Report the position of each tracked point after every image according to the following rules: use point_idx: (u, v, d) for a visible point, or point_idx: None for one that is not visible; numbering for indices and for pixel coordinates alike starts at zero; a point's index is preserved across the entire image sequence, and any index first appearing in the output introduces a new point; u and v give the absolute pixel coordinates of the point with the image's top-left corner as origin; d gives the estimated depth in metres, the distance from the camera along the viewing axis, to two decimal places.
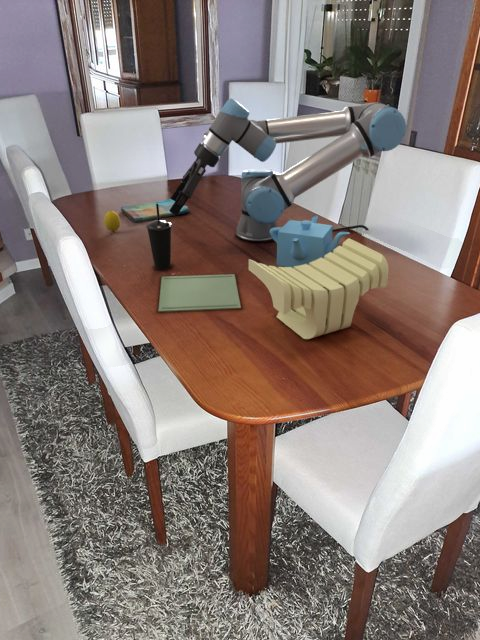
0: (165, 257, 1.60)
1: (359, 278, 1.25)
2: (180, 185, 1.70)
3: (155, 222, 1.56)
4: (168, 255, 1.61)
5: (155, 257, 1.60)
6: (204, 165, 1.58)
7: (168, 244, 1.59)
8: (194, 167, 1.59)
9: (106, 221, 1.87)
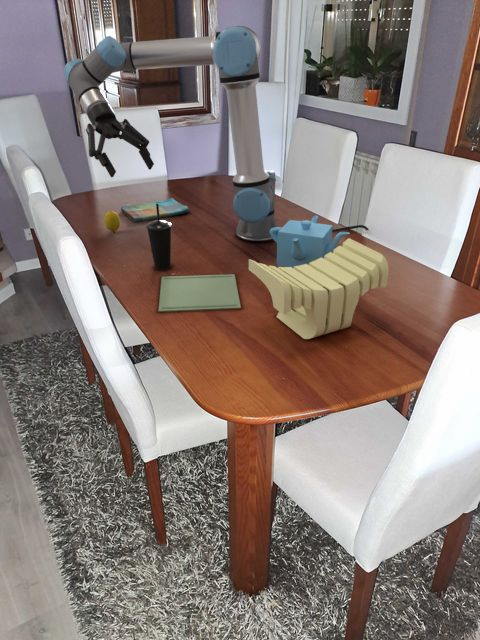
0: (165, 257, 1.60)
1: (359, 278, 1.25)
2: (140, 153, 1.61)
3: (155, 222, 1.56)
4: (168, 255, 1.61)
5: (155, 257, 1.60)
6: (95, 122, 1.54)
7: (168, 244, 1.59)
8: None
9: (106, 221, 1.87)
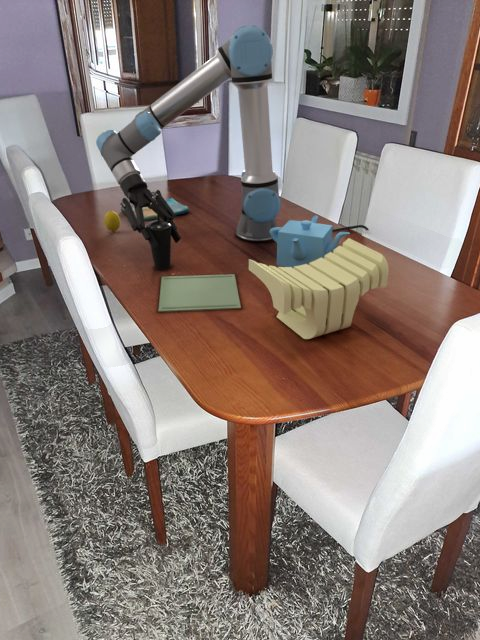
0: (165, 257, 1.60)
1: (359, 278, 1.25)
2: None
3: (155, 222, 1.56)
4: (168, 255, 1.61)
5: (155, 257, 1.60)
6: (127, 193, 1.56)
7: (168, 244, 1.59)
8: None
9: (106, 221, 1.87)
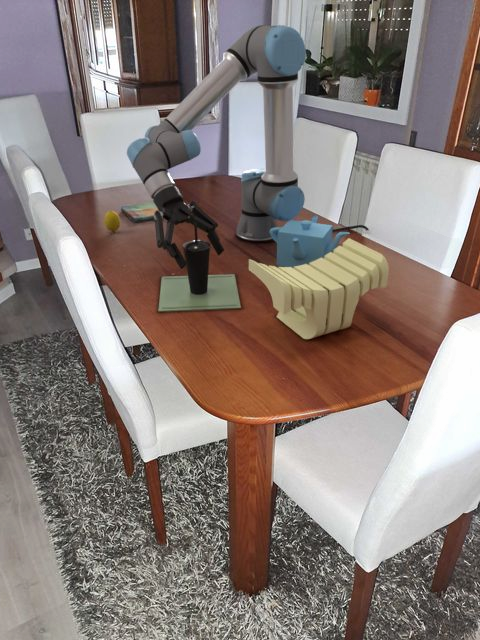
0: (202, 280, 1.45)
1: (359, 278, 1.25)
2: (209, 238, 1.47)
3: (192, 242, 1.41)
4: (205, 278, 1.45)
5: (191, 280, 1.45)
6: (162, 208, 1.40)
7: (206, 266, 1.43)
8: None
9: (106, 221, 1.87)
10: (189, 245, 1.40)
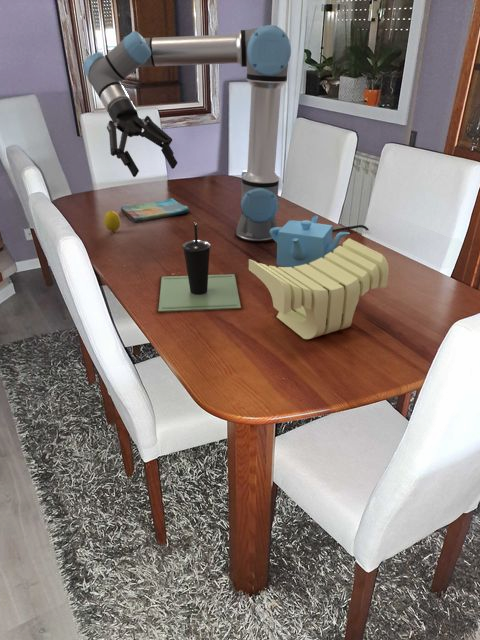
0: (202, 280, 1.45)
1: (359, 278, 1.25)
2: (163, 152, 1.54)
3: (192, 242, 1.41)
4: (205, 278, 1.45)
5: (191, 280, 1.45)
6: (116, 119, 1.47)
7: (206, 266, 1.43)
8: None
9: (106, 221, 1.87)
10: (189, 245, 1.40)
